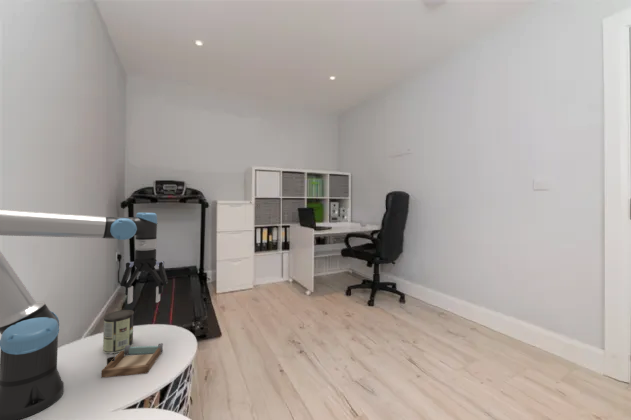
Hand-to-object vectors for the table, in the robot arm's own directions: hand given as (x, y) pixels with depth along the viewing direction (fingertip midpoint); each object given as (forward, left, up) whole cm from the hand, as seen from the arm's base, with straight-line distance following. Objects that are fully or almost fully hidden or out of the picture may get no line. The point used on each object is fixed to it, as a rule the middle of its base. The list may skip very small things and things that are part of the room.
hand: (144, 302), depth 109 cm
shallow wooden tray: (+2, -11, -20) cm, 23 cm away
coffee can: (-10, +3, -20) cm, 23 cm away
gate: (+2, -4, -19) cm, 20 cm away
